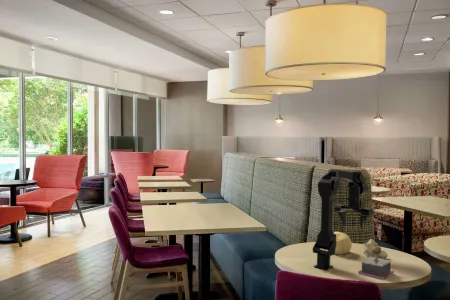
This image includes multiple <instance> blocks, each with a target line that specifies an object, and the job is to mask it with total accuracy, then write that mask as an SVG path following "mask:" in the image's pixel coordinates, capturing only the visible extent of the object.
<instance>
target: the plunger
mask: <svg viewBox="0 0 450 300" xmlns="http://www.w3.org/2000/svg"><path fill="white" fill-rule="evenodd" d="M378 246H379V245H378ZM378 246H373V247H372V253H374V254H375V261H376V262H378V254H381V250H382V247H381V246H379V247H378Z"/></svg>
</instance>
